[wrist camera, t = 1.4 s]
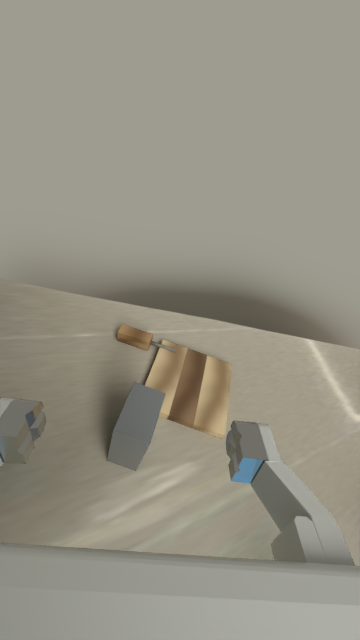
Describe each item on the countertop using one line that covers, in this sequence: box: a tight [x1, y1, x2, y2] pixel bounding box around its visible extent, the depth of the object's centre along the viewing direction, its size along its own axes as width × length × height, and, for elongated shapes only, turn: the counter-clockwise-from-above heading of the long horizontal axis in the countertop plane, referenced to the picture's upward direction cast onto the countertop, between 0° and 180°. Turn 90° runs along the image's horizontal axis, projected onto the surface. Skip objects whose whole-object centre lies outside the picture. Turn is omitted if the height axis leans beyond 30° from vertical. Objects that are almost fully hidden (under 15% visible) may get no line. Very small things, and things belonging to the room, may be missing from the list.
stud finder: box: [107, 382, 166, 471], centre depth 31 cm, size 4×6×10 cm
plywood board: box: [145, 339, 232, 439], centre depth 43 cm, size 14×14×1 cm
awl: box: [117, 324, 177, 352], centre depth 46 cm, size 11×2×2 cm, turn 77°
